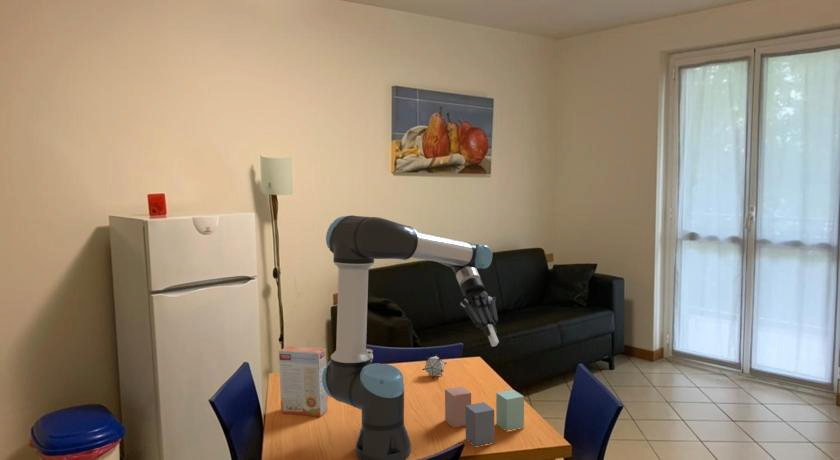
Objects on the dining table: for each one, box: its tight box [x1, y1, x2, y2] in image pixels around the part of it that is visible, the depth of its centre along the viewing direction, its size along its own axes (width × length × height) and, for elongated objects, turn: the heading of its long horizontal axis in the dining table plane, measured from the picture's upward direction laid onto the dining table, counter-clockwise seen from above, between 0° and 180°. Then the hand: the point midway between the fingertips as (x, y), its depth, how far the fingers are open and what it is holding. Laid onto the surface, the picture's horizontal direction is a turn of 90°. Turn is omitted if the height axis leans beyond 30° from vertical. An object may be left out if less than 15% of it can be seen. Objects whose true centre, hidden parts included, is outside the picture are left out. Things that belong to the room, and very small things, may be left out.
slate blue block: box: [465, 401, 495, 448], centre depth 164 cm, size 6×6×10 cm
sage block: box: [495, 389, 525, 432], centre depth 173 cm, size 6×6×10 cm
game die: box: [422, 353, 448, 380], centre depth 218 cm, size 9×8×10 cm
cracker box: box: [278, 345, 328, 417], centre depth 185 cm, size 14×6×21 cm, turn 74°
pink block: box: [444, 385, 472, 429], centre depth 177 cm, size 6×6×10 cm
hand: (495, 344), depth 180 cm, fingers closed
